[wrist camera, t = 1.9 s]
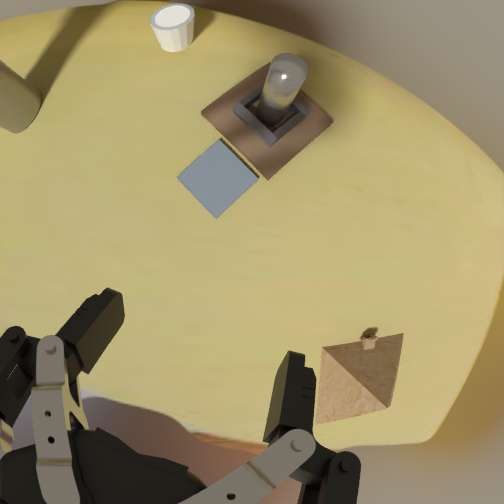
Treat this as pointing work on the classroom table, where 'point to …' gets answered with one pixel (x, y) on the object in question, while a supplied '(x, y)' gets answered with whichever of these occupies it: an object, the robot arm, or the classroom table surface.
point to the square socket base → (259, 135)
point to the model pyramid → (357, 377)
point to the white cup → (174, 26)
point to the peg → (281, 87)
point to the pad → (217, 178)
